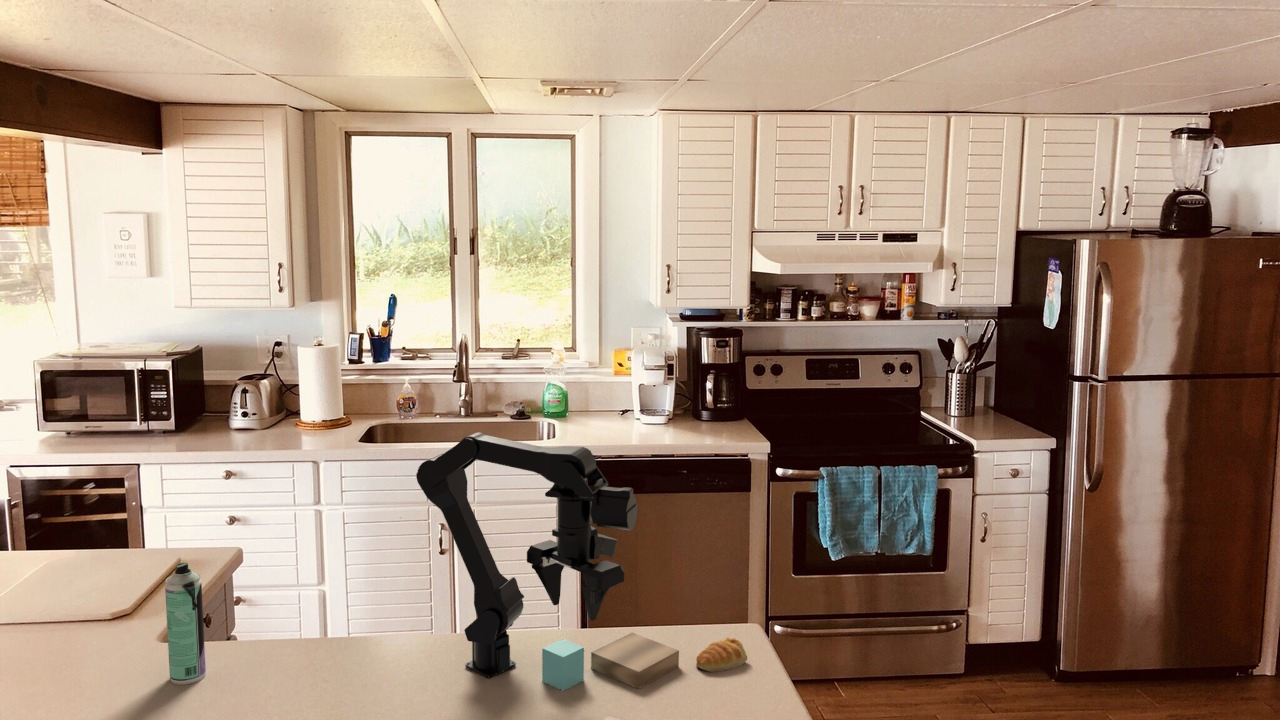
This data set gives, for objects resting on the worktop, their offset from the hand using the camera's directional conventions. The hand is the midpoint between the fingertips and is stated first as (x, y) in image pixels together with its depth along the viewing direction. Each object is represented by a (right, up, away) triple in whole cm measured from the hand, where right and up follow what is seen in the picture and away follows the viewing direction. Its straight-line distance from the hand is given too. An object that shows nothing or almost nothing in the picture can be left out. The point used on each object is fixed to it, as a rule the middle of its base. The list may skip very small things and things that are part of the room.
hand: (574, 612), depth 156 cm
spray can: (-66, -11, +1) cm, 67 cm away
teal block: (-2, -12, +2) cm, 13 cm away
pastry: (+26, -12, +9) cm, 30 cm away
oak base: (+10, -12, +7) cm, 17 cm away
